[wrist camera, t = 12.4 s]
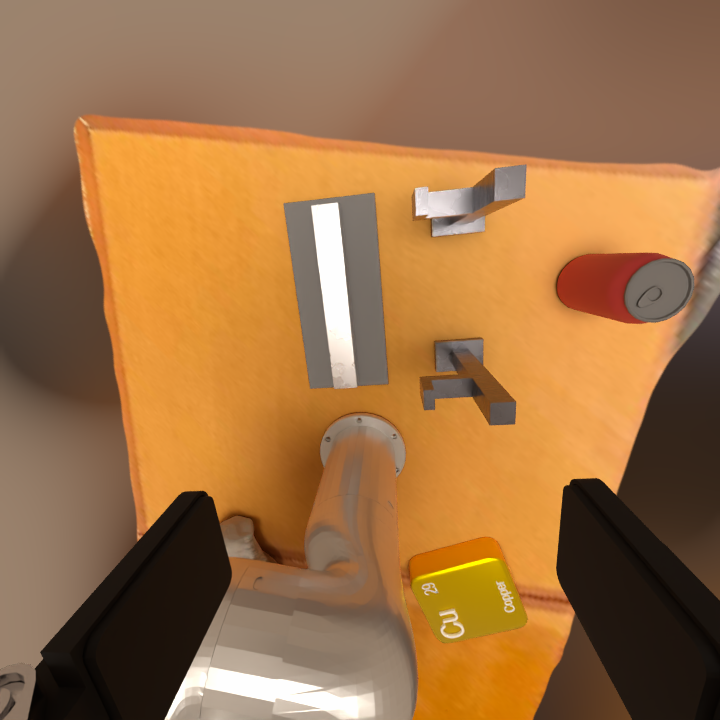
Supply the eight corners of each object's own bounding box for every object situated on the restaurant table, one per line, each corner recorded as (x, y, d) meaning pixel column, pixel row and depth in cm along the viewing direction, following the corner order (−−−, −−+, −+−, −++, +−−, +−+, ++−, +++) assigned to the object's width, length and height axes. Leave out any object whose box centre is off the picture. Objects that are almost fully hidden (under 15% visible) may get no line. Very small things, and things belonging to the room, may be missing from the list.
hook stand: (480, 366, 44) (540, 434, 27) (413, 370, 45) (429, 438, 28) (482, 195, 39) (559, 143, 21) (404, 204, 39) (418, 161, 22)
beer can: (543, 281, 41) (604, 289, 29) (591, 242, 39) (676, 234, 28) (574, 320, 42) (645, 343, 30) (623, 283, 40) (717, 293, 29)
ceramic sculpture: (242, 548, 45) (273, 621, 50) (264, 501, 54) (288, 568, 58) (172, 554, 47) (208, 624, 52) (204, 507, 55) (232, 572, 60)
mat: (388, 382, 46) (388, 384, 46) (311, 387, 47) (310, 388, 47) (374, 193, 39) (374, 192, 39) (284, 204, 41) (283, 203, 40)
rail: (358, 379, 46) (356, 387, 43) (337, 380, 46) (334, 388, 43) (341, 206, 40) (337, 202, 37) (316, 209, 40) (311, 205, 37)
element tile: (521, 600, 56) (533, 630, 51) (436, 619, 59) (440, 650, 54) (493, 532, 52) (504, 558, 48) (404, 556, 55) (406, 583, 51)
